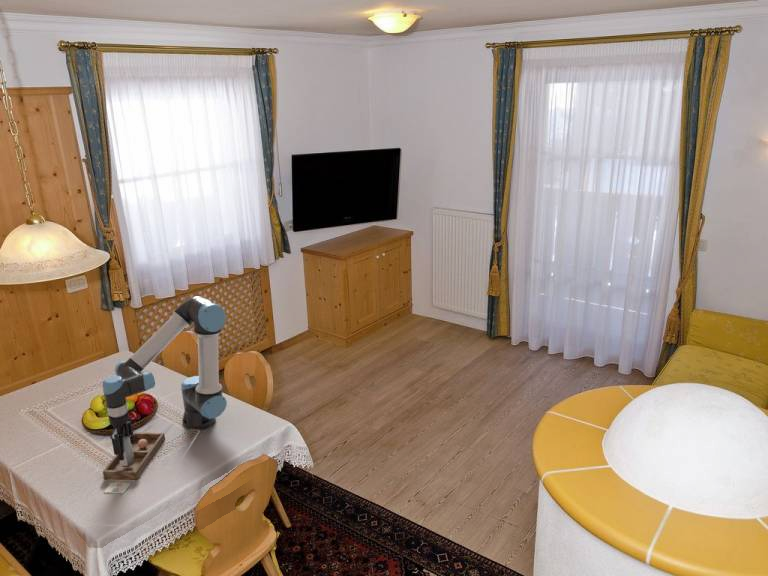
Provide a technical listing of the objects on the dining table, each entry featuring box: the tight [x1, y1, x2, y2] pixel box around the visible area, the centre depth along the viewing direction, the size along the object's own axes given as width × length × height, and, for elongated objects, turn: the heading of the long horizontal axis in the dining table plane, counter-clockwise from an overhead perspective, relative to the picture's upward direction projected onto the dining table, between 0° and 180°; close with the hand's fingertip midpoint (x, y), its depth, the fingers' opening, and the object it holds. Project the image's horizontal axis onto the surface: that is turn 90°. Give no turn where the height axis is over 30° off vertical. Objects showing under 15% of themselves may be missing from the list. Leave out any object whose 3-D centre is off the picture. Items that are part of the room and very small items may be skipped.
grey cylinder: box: [122, 436, 134, 467], centre depth 243 cm, size 5×5×12 cm
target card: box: [103, 481, 131, 495], centre depth 234 cm, size 8×6×1 cm
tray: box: [102, 431, 166, 482], centre depth 252 cm, size 14×28×4 cm, turn 177°
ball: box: [138, 439, 147, 448], centre depth 258 cm, size 4×4×4 cm
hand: (127, 460), depth 244 cm, fingers closed on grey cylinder, 5 cm apart
